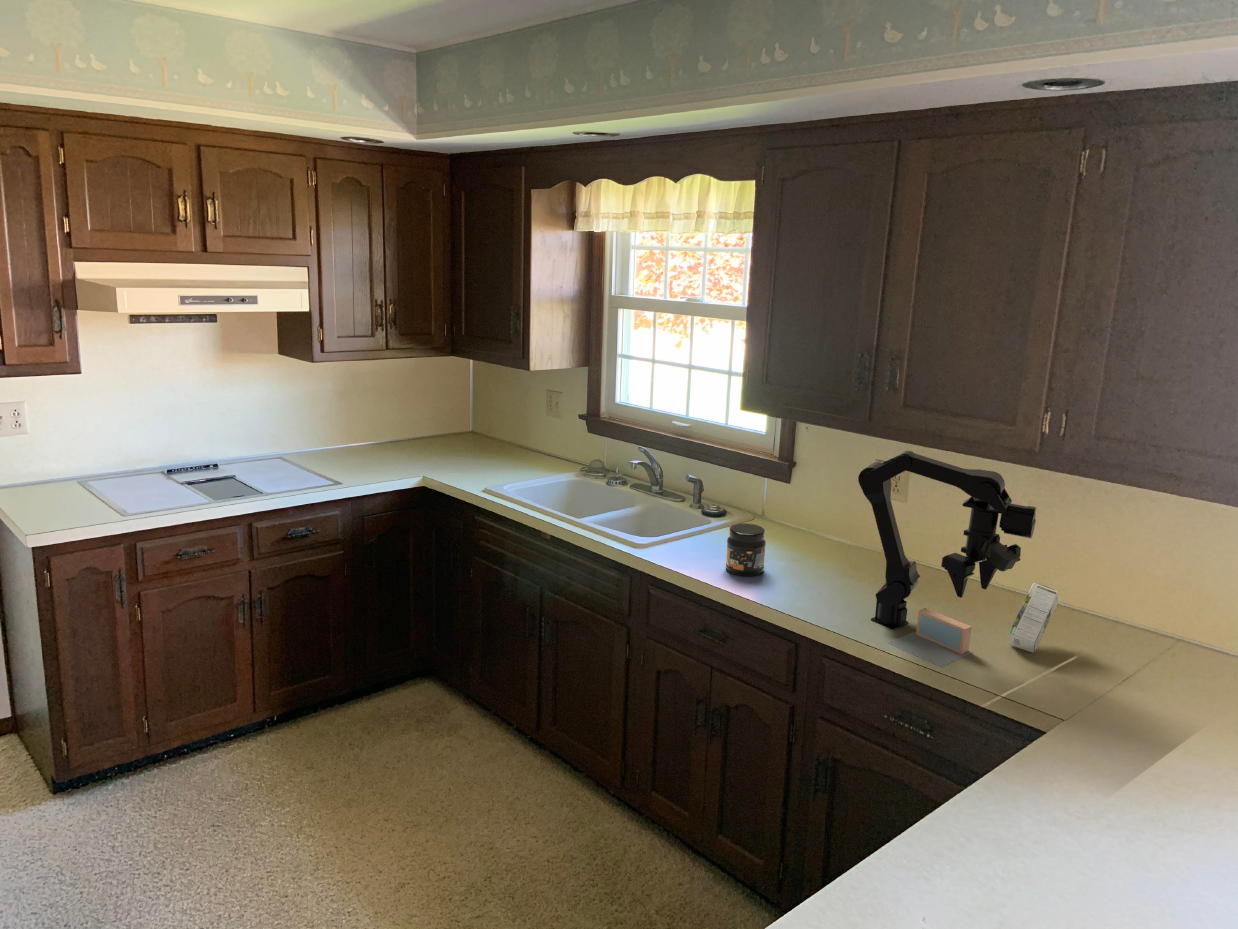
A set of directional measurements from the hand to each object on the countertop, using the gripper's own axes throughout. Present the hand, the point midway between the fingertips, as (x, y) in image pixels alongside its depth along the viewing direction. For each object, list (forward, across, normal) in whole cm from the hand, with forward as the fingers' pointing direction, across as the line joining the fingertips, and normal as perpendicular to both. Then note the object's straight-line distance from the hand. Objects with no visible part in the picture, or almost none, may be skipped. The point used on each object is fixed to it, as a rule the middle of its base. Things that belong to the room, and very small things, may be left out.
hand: (971, 592), depth 205 cm
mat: (+12, -10, +2) cm, 16 cm away
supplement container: (+14, -13, +60) cm, 63 cm away
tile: (+12, -6, +2) cm, 13 cm away
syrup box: (+10, +5, -11) cm, 15 cm away
